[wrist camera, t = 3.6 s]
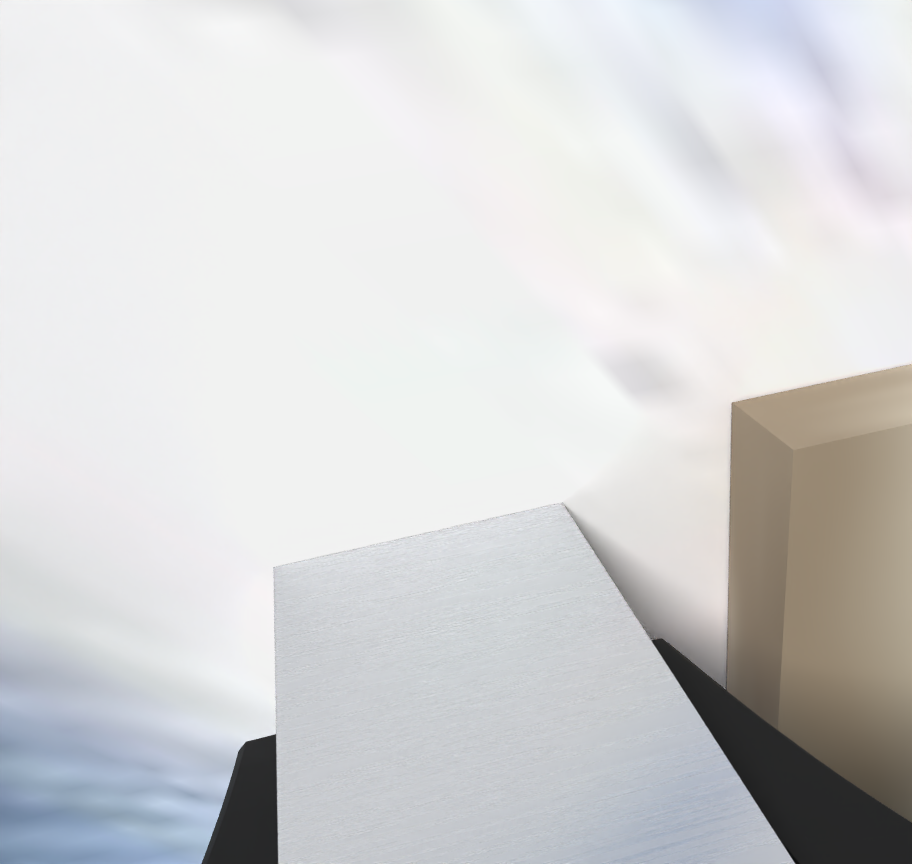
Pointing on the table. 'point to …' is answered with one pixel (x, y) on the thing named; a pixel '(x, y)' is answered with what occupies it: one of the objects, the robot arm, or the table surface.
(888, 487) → the block
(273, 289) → the table surface
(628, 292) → the table surface
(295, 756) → the key peg
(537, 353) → the table surface
